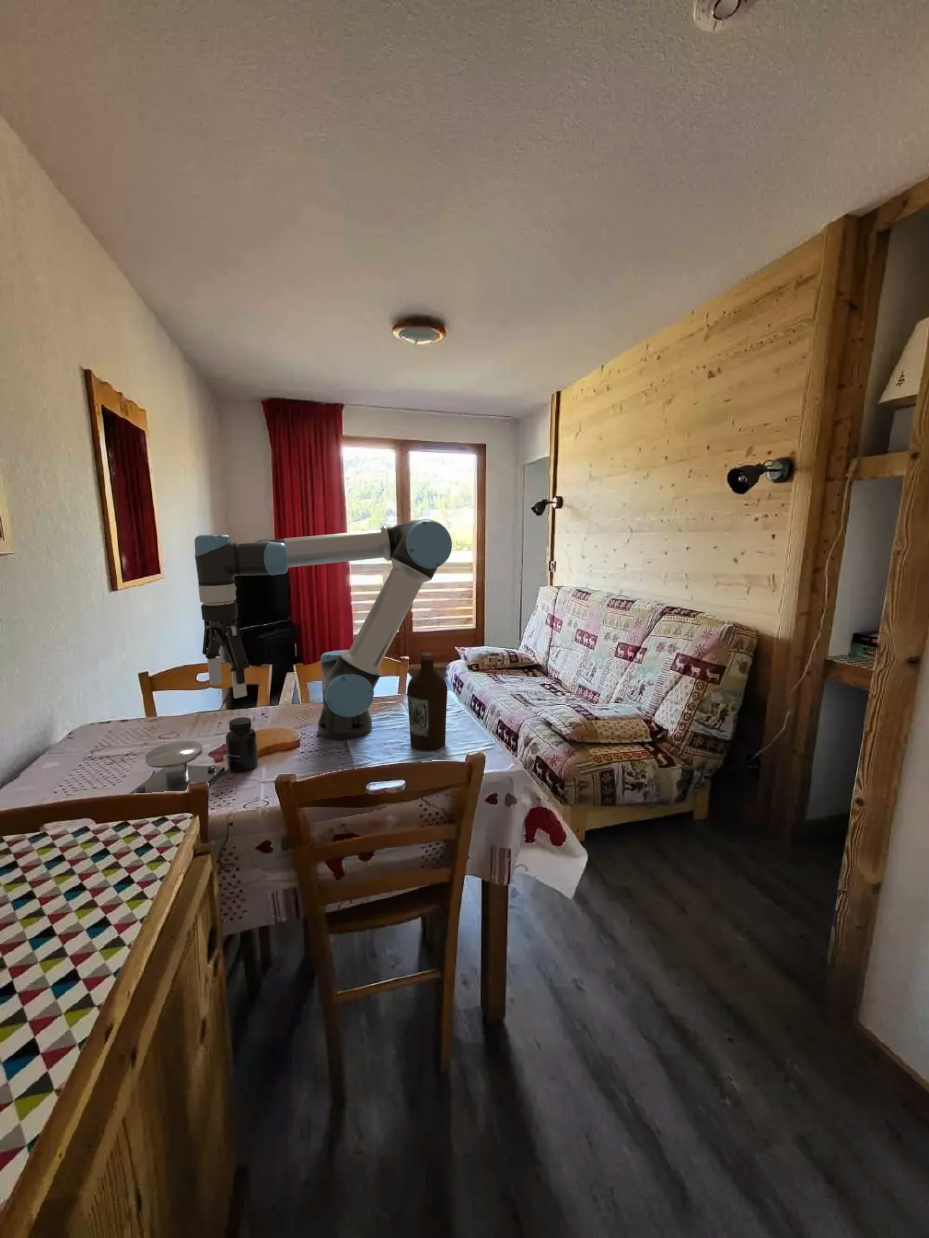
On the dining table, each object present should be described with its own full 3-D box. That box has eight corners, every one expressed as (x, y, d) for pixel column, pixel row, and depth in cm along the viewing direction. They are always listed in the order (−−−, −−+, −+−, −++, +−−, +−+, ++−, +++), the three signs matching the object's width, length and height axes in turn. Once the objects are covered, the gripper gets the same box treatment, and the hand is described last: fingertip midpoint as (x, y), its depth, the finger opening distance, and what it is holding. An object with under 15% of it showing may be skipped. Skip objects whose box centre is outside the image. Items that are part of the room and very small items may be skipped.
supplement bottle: (227, 776, 118) (223, 728, 116) (228, 763, 124) (224, 717, 122) (259, 770, 121) (255, 723, 118) (258, 758, 127) (254, 713, 125)
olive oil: (425, 732, 143) (424, 646, 138) (455, 741, 137) (455, 652, 132) (399, 745, 134) (397, 655, 129) (430, 756, 128) (429, 662, 123)
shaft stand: (225, 772, 120) (221, 739, 118) (189, 805, 106) (185, 767, 104) (168, 770, 121) (164, 737, 119) (126, 802, 107) (121, 765, 105)
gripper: (259, 606, 110) (267, 698, 115) (213, 595, 127) (222, 675, 131) (225, 611, 105) (234, 707, 109) (181, 598, 121) (191, 682, 126)
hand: (227, 690), depth 120 cm, fingers open, 13 cm apart
